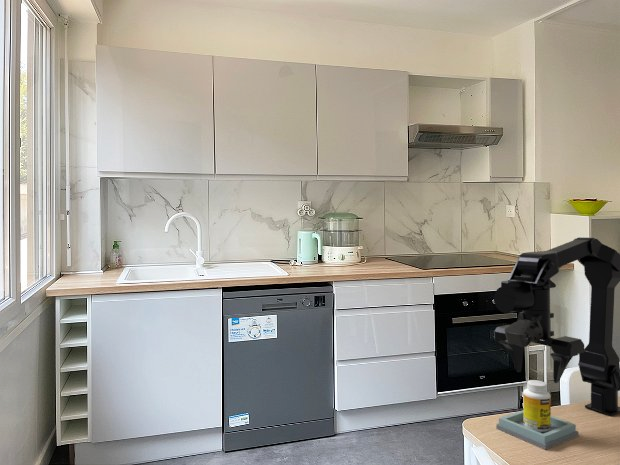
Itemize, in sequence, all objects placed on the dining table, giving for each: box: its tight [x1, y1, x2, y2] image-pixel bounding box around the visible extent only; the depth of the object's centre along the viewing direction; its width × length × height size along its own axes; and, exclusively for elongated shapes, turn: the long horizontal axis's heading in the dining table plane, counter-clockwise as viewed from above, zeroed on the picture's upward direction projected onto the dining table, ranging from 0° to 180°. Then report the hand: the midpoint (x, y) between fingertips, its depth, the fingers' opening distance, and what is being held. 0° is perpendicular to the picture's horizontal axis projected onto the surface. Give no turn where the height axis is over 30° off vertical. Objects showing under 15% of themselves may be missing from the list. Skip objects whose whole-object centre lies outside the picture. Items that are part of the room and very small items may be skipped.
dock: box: [495, 409, 579, 451], centre depth 105 cm, size 12×12×2 cm
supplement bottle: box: [522, 379, 552, 432], centre depth 105 cm, size 6×6×10 cm
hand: (536, 376), depth 106 cm, fingers open, 9 cm apart
